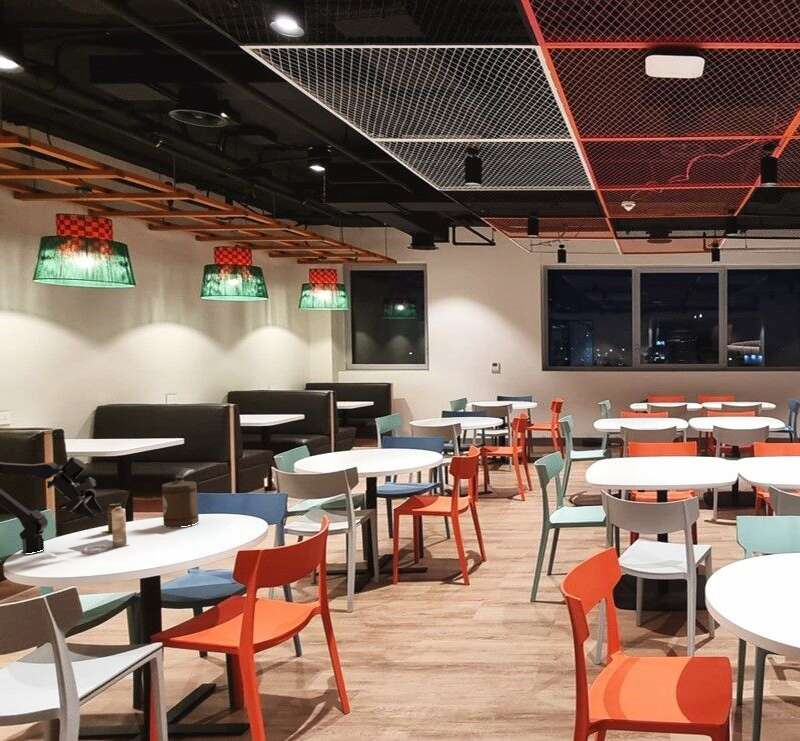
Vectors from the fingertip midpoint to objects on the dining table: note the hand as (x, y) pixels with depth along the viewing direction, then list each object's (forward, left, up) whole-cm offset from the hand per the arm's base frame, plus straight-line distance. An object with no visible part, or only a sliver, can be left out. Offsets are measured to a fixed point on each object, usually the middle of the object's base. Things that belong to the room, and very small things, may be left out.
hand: (97, 514), depth 286 cm
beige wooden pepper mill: (+5, -6, -13) cm, 15 cm away
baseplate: (0, 0, -13) cm, 13 cm away
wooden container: (+43, +8, -14) cm, 46 cm away
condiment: (+19, +22, -14) cm, 32 cm away
